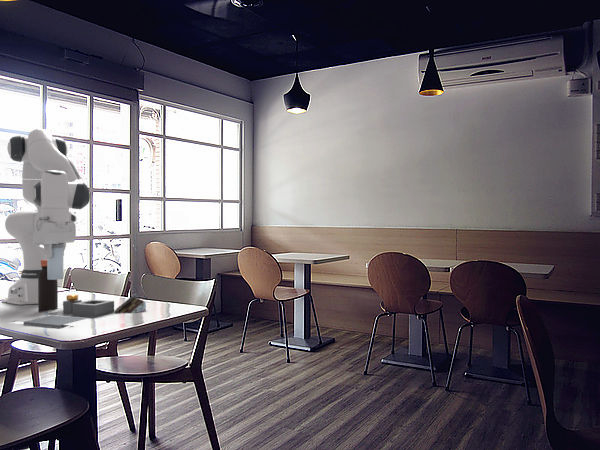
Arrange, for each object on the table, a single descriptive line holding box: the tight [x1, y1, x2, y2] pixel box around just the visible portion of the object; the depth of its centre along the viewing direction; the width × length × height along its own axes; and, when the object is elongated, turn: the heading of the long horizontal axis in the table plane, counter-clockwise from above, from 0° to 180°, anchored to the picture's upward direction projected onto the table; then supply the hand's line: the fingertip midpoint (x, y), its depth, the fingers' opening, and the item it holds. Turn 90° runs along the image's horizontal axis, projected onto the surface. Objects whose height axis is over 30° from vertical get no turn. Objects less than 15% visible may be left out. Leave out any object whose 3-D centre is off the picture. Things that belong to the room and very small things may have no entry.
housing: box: [46, 299, 116, 319], centre depth 192 cm, size 22×16×5 cm
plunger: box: [66, 294, 79, 302], centre depth 194 cm, size 4×4×6 cm
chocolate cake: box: [114, 292, 147, 314], centre depth 196 cm, size 10×7×12 cm
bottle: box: [37, 260, 59, 313], centre depth 199 cm, size 7×7×20 cm
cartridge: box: [47, 244, 64, 280], centre depth 177 cm, size 5×5×12 cm
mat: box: [23, 315, 88, 329], centre depth 178 cm, size 16×12×1 cm
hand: (55, 256), depth 177 cm, fingers closed on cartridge, 5 cm apart
